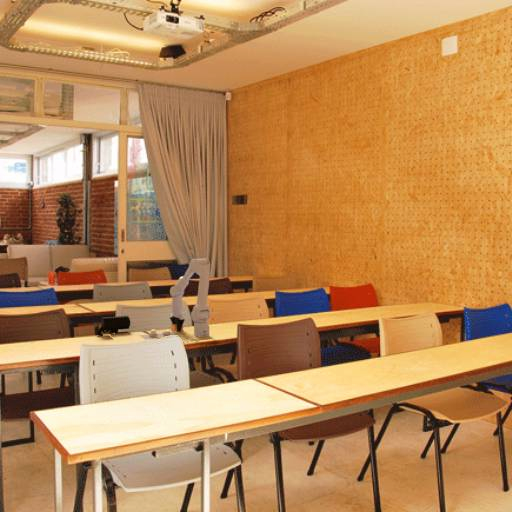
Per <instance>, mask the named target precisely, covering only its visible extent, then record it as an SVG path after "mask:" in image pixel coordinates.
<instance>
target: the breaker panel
mask: <svg viewBox="0 0 512 512" xmlns="http://www.w3.org/2000/svg"><path fill="white" fill-rule="evenodd" d="M170 335H179V336H178V337H181V335H180V334H177V333H176V332H174V331H172V332H171V331H170V332H169V333H165V332H164V331H162V332H161V333H160V332H159V333H157V332H156V334H151V333H150V332H149V333H148V334H141V335H140V334H139V336H140V337H141V338H143V339H145V340H153V339H155V340H156V339H162V338H161V337H165V336H170Z"/></svg>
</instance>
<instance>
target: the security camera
mask: <svg viewBox="0 0 512 512" xmlns="http://www.w3.org/2000/svg"><path fill="white" fill-rule="evenodd" d="M100 324H101V325H100V327H99V328H98V330H96V335H97V336H98V337H104V334H107V333H109V332H110V334H118V333H119V330H130V326H131V319H130V316H128V315H121V316H120V315H119V316H118V315H117V316H106V317H101V321H100Z"/></svg>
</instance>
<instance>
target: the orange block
mask: <svg viewBox="0 0 512 512" xmlns="http://www.w3.org/2000/svg"><path fill="white" fill-rule="evenodd" d="M170 331H172V332H174V333H176V332H178V331H177V325H176V324H172V323H171V326H170ZM183 331H184V324H183V325H182V329H181V331H180V332H183Z"/></svg>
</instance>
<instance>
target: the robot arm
mask: <svg viewBox="0 0 512 512" xmlns="http://www.w3.org/2000/svg"><path fill="white" fill-rule="evenodd" d="M210 267H211V263H210V261H209V260H208V258H206V257H204V258H193V259H191V260H190V262H189V263H188V268H187V270H186V271H185V273H184V275H183V276H180V277H179V278H178V281H177V282H176V283H175V285H173V286H171V287H170V289H169V294H170V296H171V307H172V308H171V312H170V315H169V319H170V321H171V324H176V325H177V332H182V331H181V329H182V325H183V326H184V323H185V320H186V319H185V318H184V315H183V297H184V294H185V289H186V287H188V285H189V283H190V279H191V278H192V276H194V274H196V275H198V276H199V281H198V290H197V299H196V304H195V305H194V306H193V307H192V310H191V313H190V318H191V320H192V322H193V333H194V334H193V335H194V336H195V337H199V338H203V337H204V338H205V337H210V325H209V324H208V321H209V319H210V317H211V313H210V310H211V308H210V307H209V306H208V304H207V302H208V296H209V295H208V294H209V287H210V277H211V271H210Z"/></svg>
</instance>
